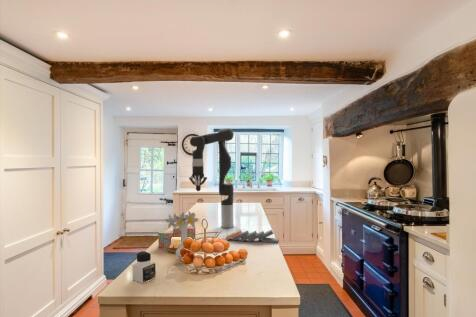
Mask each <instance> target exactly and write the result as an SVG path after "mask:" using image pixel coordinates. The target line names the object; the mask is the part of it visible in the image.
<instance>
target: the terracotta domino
mask: <svg viewBox="0 0 476 317" xmlns="http://www.w3.org/2000/svg"><path fill="white" fill-rule="evenodd" d="M241 233H243V232H242V230H241V229H240V230H237V231H235V232H232V233H229V234H227V235H226V236H225V238H224V239H225V241H228V240H231V239H233V238H234V237H236V236H239V235H241Z"/></svg>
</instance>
